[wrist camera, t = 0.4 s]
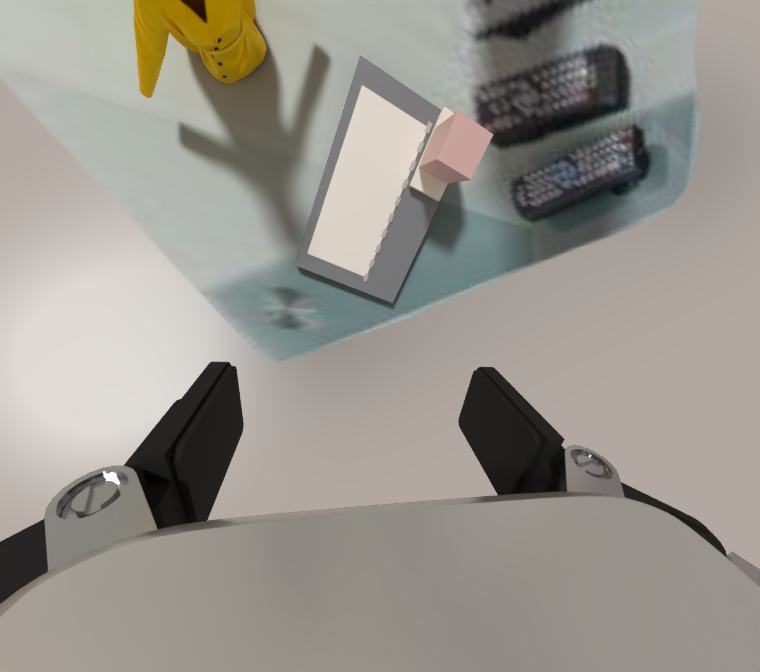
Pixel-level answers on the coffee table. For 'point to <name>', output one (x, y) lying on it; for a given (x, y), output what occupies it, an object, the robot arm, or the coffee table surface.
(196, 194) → the coffee table surface
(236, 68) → the figure statuette
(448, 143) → the stub
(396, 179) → the board
